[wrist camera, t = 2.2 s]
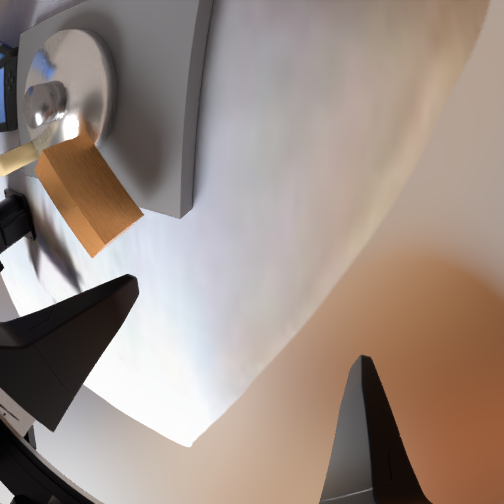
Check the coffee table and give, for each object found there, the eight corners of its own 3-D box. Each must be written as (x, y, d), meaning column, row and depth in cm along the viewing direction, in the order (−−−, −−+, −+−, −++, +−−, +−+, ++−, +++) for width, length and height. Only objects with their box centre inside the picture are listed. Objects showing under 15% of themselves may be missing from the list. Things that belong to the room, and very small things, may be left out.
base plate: (34, 169, 22) (-10, 193, 17) (32, 32, 13) (-19, 41, 8) (191, 208, 18) (136, 258, 13) (217, -21, 9) (152, -56, 5)
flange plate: (44, 190, 20) (6, 213, 16) (37, 44, 12) (-10, 53, 8) (156, 225, 18) (109, 266, 14) (167, 7, 10) (103, -6, 6)
